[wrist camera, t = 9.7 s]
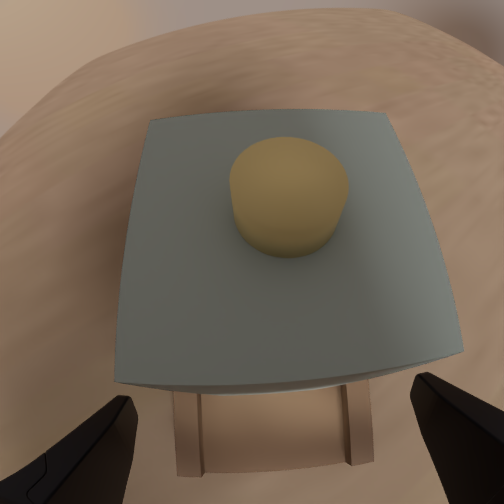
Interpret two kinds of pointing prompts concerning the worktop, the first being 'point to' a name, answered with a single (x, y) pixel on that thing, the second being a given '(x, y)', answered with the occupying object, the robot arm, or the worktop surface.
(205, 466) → the walnut trough
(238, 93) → the worktop surface
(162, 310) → the block
